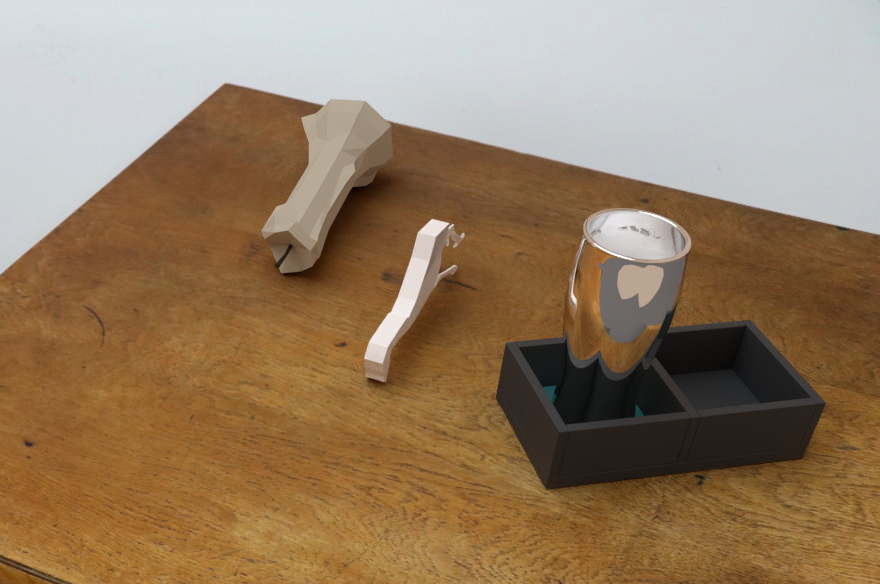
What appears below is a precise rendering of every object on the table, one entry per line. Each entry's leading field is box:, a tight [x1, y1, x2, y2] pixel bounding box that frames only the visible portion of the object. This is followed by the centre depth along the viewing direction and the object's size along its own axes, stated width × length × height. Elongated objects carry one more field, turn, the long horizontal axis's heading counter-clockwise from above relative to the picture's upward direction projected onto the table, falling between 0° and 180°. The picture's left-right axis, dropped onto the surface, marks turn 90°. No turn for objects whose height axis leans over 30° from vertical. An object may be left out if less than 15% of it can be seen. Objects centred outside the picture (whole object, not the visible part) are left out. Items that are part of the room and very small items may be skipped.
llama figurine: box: [363, 218, 466, 383], centre depth 87 cm, size 2×11×18 cm
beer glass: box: [550, 207, 692, 425], centre depth 73 cm, size 7×7×15 cm
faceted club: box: [261, 98, 394, 274], centre depth 98 cm, size 9×8×25 cm
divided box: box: [495, 319, 827, 490], centre depth 78 cm, size 19×10×5 cm, turn 102°
